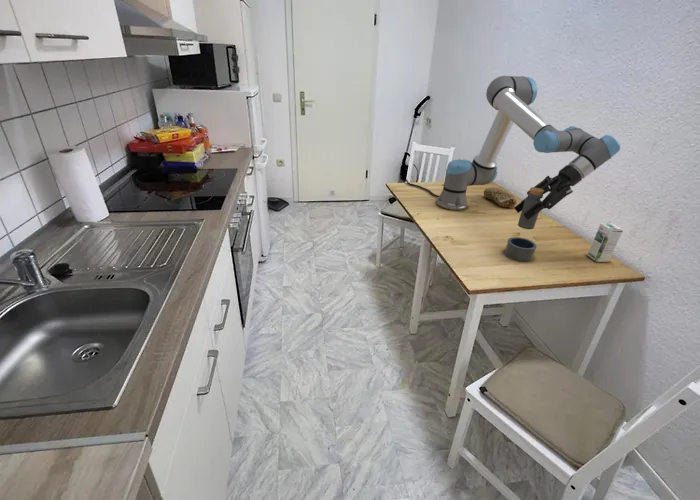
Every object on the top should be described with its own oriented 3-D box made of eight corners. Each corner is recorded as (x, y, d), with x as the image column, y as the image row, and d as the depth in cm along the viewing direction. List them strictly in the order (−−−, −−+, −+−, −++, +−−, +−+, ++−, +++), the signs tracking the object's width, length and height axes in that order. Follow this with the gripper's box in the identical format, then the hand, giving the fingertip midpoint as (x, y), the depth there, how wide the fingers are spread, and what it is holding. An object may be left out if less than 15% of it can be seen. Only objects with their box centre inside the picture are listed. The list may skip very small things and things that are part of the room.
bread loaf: (517, 210, 192) (503, 191, 207) (519, 198, 187) (505, 179, 202) (492, 214, 193) (480, 194, 208) (493, 201, 188) (482, 182, 203)
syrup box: (586, 255, 148) (599, 222, 141) (599, 255, 148) (613, 222, 142) (595, 262, 143) (610, 229, 136) (609, 262, 143) (624, 229, 137)
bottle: (535, 230, 136) (547, 192, 129) (519, 228, 137) (530, 190, 130) (531, 224, 141) (543, 187, 134) (516, 222, 142) (526, 185, 135)
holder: (500, 254, 144) (504, 242, 142) (510, 246, 151) (513, 234, 149) (527, 264, 138) (531, 252, 136) (535, 255, 145) (540, 243, 143)
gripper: (597, 187, 124) (539, 230, 130) (563, 171, 140) (512, 210, 146) (589, 171, 121) (529, 217, 127) (554, 157, 137) (503, 198, 143)
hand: (520, 213), depth 136 cm, fingers closed on bottle, 6 cm apart
